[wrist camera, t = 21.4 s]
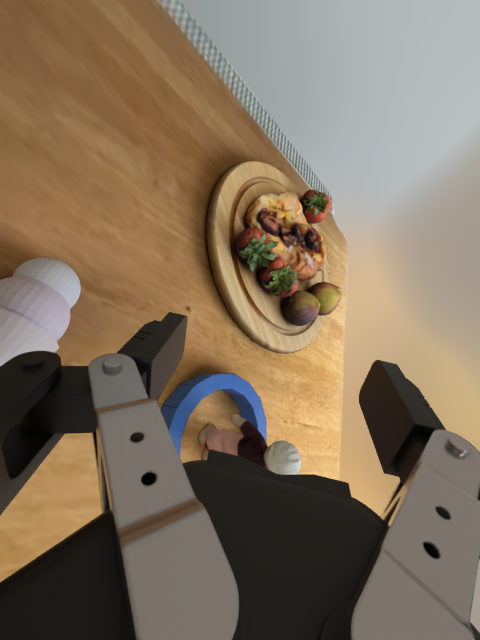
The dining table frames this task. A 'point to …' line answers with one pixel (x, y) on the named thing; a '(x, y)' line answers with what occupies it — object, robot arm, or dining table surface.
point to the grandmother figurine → (251, 447)
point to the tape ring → (203, 385)
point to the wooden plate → (270, 256)
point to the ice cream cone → (36, 306)
